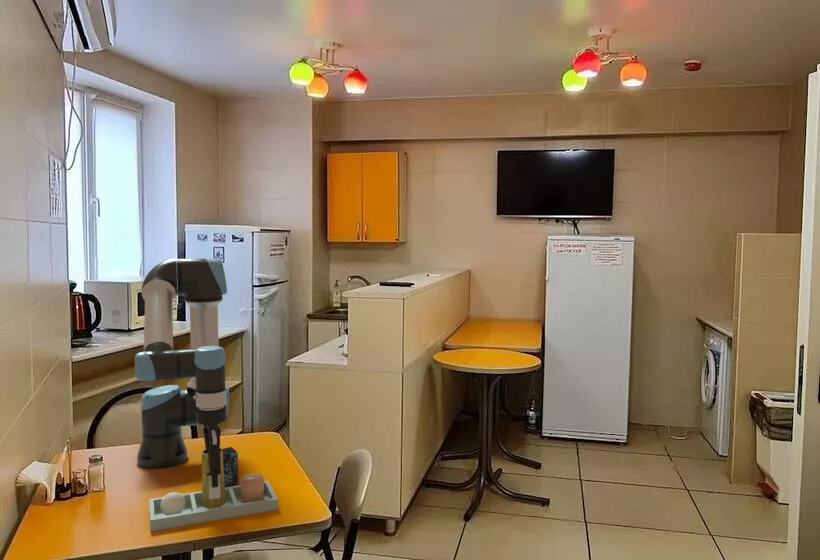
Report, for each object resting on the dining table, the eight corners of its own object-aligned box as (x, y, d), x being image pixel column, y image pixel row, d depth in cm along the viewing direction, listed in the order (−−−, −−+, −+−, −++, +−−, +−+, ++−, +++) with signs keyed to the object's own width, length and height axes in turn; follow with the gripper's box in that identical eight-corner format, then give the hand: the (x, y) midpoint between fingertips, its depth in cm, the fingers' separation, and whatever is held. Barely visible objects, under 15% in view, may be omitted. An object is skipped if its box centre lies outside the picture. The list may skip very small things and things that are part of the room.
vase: (203, 510, 164) (202, 456, 163) (199, 501, 170) (198, 449, 169) (227, 506, 167) (226, 452, 166) (223, 497, 173) (221, 445, 172)
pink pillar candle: (239, 500, 174) (239, 475, 174) (261, 496, 176) (261, 471, 176) (242, 509, 169) (242, 483, 168) (266, 505, 171) (265, 479, 170)
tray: (149, 511, 169) (149, 499, 169) (268, 492, 181) (268, 480, 181) (150, 534, 157) (150, 520, 156) (278, 512, 169) (278, 499, 168)
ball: (160, 513, 166) (159, 490, 166) (184, 509, 169) (184, 486, 168) (161, 522, 161) (160, 499, 160) (186, 518, 163) (185, 495, 163)
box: (211, 493, 180) (210, 457, 180) (205, 487, 185) (204, 451, 184) (239, 487, 185) (238, 451, 184) (232, 481, 189) (231, 446, 189)
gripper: (193, 399, 174) (195, 482, 175) (199, 418, 156) (201, 510, 158) (221, 396, 176) (223, 478, 178) (230, 414, 159) (233, 505, 161)
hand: (213, 493), depth 168 cm, fingers closed on vase, 6 cm apart
